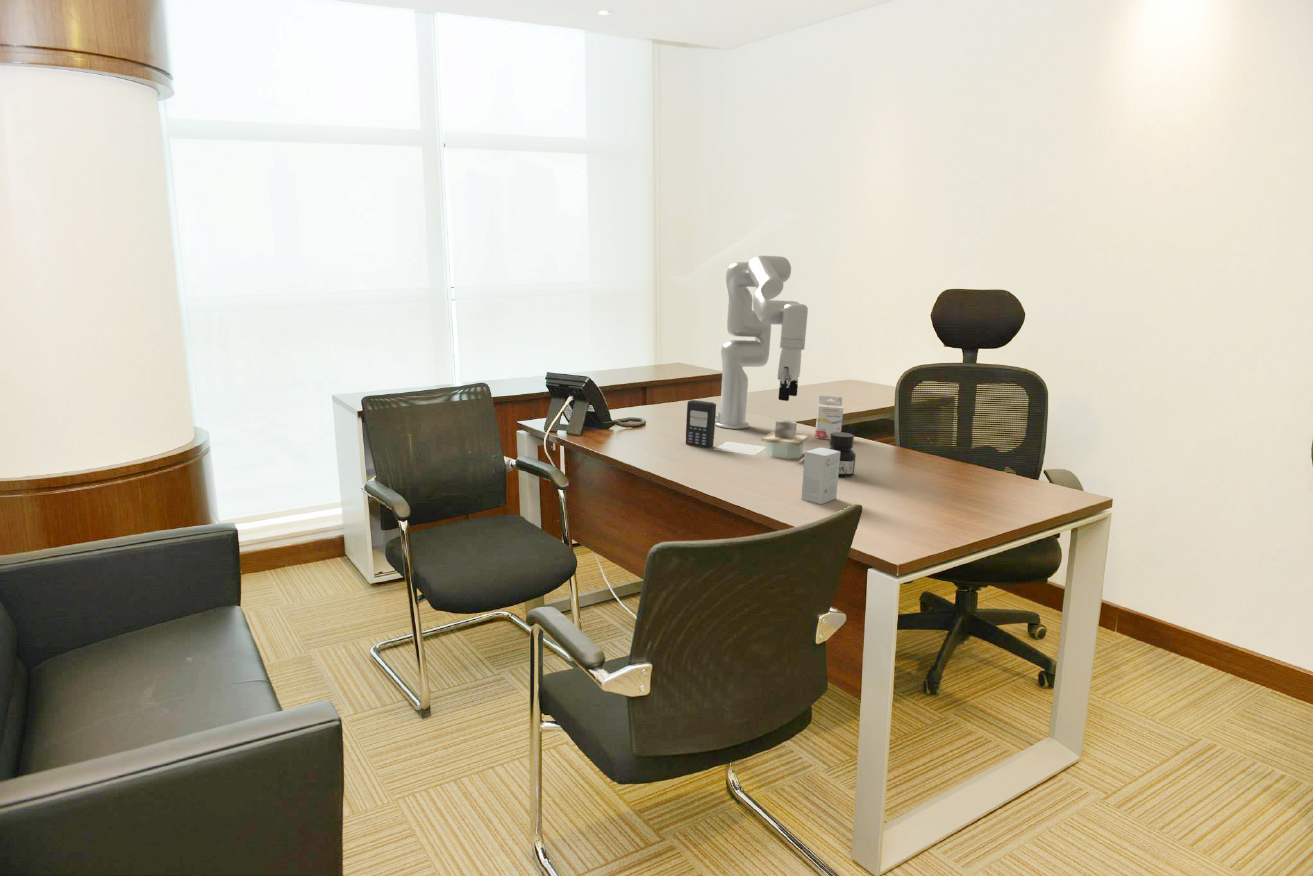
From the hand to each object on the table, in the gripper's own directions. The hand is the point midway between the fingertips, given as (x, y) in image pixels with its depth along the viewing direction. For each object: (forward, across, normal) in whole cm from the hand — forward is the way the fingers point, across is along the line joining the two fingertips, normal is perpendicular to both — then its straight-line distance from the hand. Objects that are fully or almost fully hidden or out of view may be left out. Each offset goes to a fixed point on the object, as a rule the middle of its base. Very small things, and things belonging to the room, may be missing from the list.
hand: (787, 397), depth 270 cm
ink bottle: (+18, +15, +21) cm, 31 cm away
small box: (+18, +45, +22) cm, 53 cm away
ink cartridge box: (+19, -35, +7) cm, 41 cm away
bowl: (+19, +1, 0) cm, 19 cm away
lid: (+14, 0, 0) cm, 14 cm away
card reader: (+19, +5, -27) cm, 33 cm away
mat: (+19, +1, -14) cm, 23 cm away
